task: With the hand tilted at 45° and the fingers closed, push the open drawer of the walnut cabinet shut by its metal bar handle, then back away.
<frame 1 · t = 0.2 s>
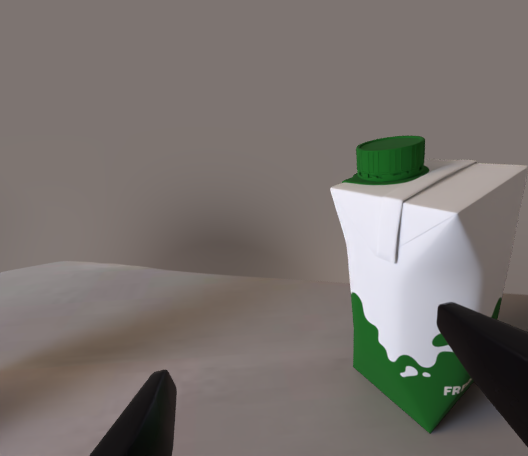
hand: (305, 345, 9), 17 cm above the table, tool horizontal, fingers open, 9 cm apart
milk carton: (412, 374, 24), on the table
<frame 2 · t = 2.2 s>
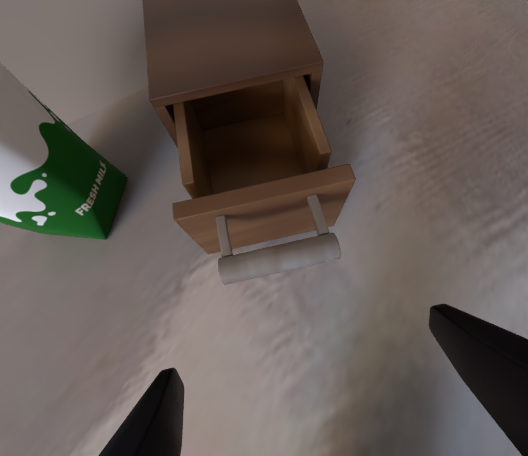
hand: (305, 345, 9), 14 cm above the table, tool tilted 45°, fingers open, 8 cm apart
milk carton: (87, 205, 27), on the table
drawer: (256, 172, 21), point 5 cm above the table, slide at 8.0 cm
cabinet: (239, 109, 30), on the table
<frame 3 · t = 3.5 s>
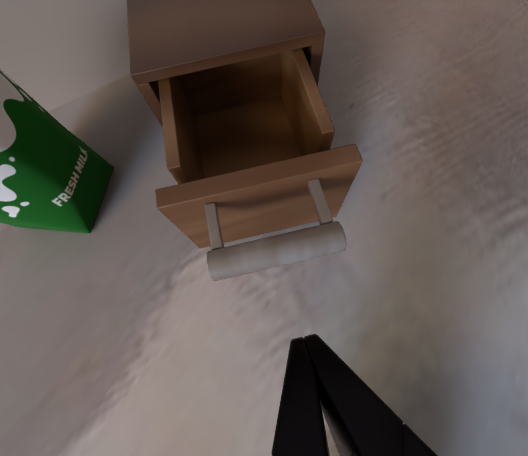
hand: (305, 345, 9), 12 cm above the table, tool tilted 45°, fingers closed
milk carton: (70, 197, 25), on the table
drawer: (251, 157, 19), point 5 cm above the table, slide at 8.0 cm
cabinet: (234, 93, 28), on the table
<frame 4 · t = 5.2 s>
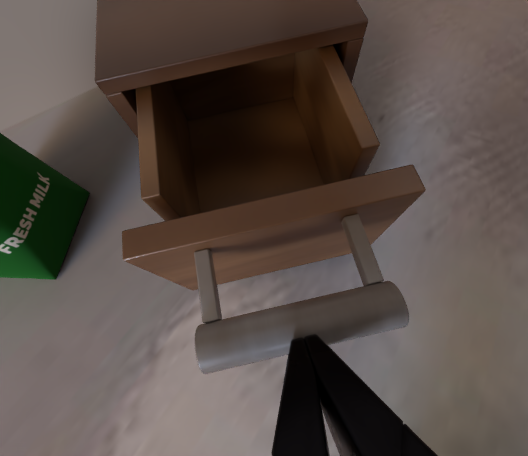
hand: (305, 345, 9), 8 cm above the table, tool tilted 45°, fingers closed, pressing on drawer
milk carton: (35, 231, 20), on the table
drawer: (259, 177, 15), point 5 cm above the table, slide at 7.1 cm, touching gripper
cabinet: (238, 102, 23), on the table
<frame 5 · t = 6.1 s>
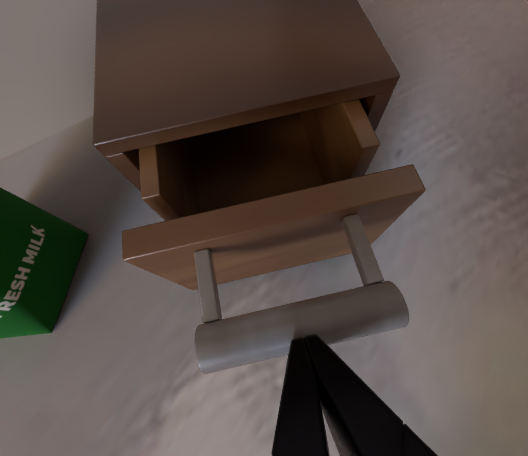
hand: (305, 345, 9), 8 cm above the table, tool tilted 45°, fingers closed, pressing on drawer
milk carton: (30, 276, 19), on the table
drawer: (259, 177, 15), point 5 cm above the table, slide at 3.5 cm, touching gripper
cabinet: (245, 133, 22), on the table
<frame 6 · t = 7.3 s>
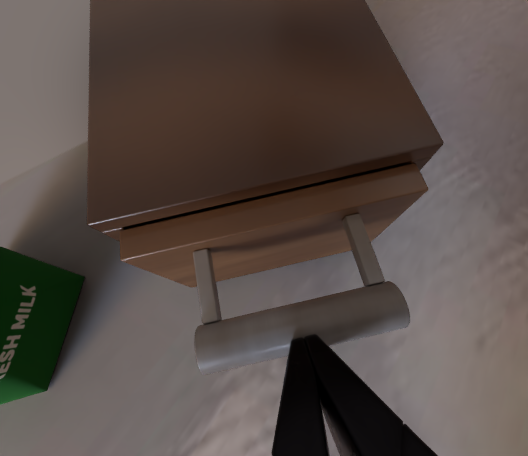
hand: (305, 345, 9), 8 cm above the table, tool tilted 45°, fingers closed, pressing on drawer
milk carton: (23, 323, 18), on the table
drawer: (258, 173, 15), point 5 cm above the table, slide at 0.0 cm, touching cabinet, gripper
cabinet: (253, 164, 21), on the table
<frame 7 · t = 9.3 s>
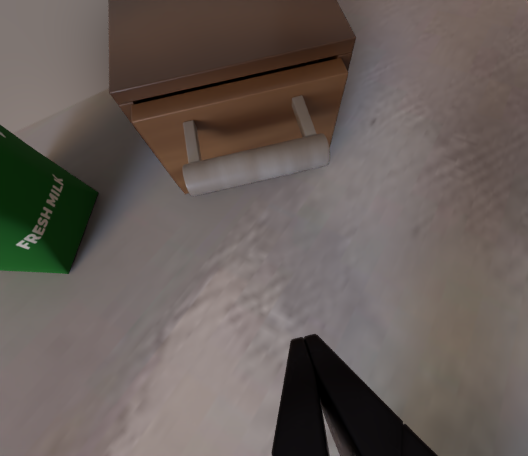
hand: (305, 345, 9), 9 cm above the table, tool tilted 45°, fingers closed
milk carton: (47, 228, 22), on the table
drawer: (237, 94, 19), point 5 cm above the table, slide at 0.0 cm, touching cabinet
cabinet: (238, 106, 25), on the table
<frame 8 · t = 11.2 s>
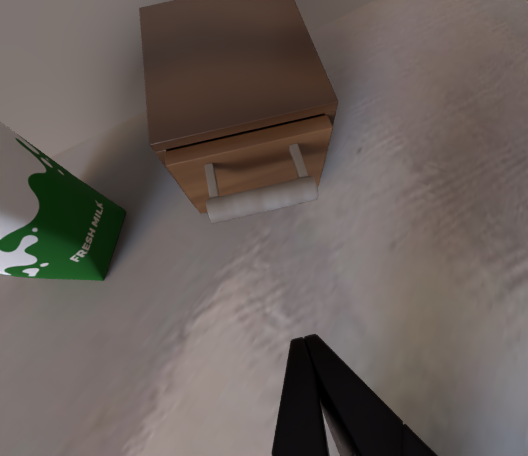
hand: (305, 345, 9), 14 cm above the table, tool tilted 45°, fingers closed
milk carton: (84, 242, 26), on the table
drawer: (244, 133, 23), point 5 cm above the table, slide at 0.0 cm, touching cabinet
cabinet: (243, 135, 29), on the table
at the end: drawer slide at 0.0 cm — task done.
